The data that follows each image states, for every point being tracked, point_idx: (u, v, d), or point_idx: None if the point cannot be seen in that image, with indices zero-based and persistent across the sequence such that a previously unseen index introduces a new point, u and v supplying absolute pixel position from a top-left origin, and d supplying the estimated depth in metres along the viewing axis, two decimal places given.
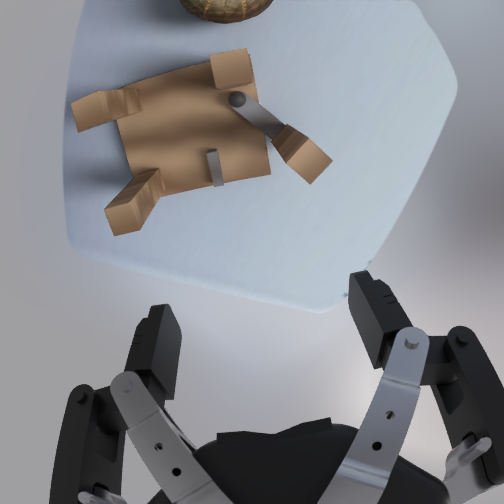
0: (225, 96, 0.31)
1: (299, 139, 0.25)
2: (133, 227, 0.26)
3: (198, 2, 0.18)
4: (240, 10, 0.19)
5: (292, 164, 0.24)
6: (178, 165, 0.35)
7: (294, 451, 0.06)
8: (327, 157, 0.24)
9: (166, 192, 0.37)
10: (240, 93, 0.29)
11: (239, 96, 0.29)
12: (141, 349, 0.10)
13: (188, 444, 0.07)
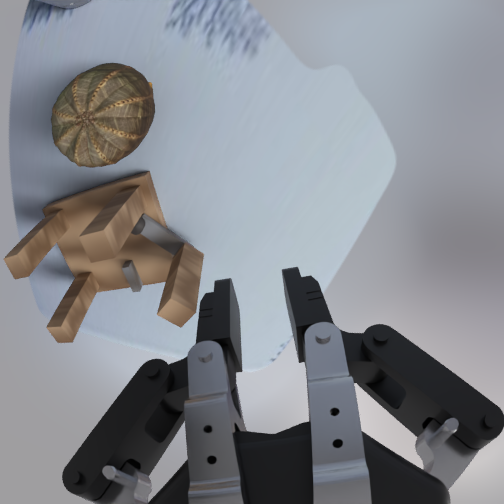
0: None
1: (170, 289, 0.29)
2: (68, 340, 0.31)
3: (71, 160, 0.23)
4: (107, 163, 0.24)
5: (162, 315, 0.29)
6: (105, 271, 0.40)
7: (294, 451, 0.06)
8: (190, 310, 0.28)
9: (101, 289, 0.41)
10: None
11: (136, 225, 0.33)
12: (215, 320, 0.10)
13: None
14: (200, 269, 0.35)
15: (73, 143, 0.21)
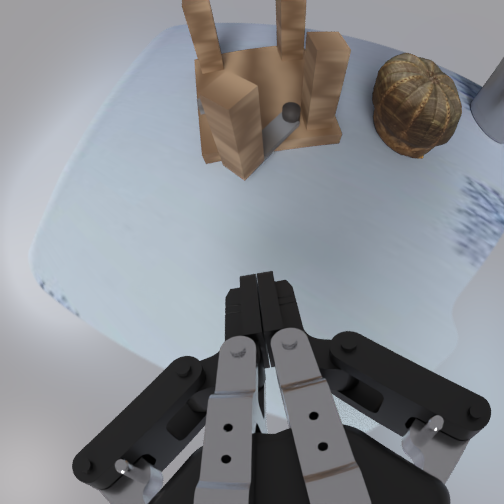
0: None
1: None
2: (185, 3, 0.22)
3: (389, 60, 0.22)
4: (389, 86, 0.22)
5: (224, 75, 0.18)
6: None
7: (294, 451, 0.06)
8: (233, 104, 0.17)
9: (198, 74, 0.33)
10: (298, 111, 0.28)
11: (294, 110, 0.28)
12: (244, 315, 0.10)
13: (260, 432, 0.07)
14: (242, 161, 0.25)
15: (412, 63, 0.21)
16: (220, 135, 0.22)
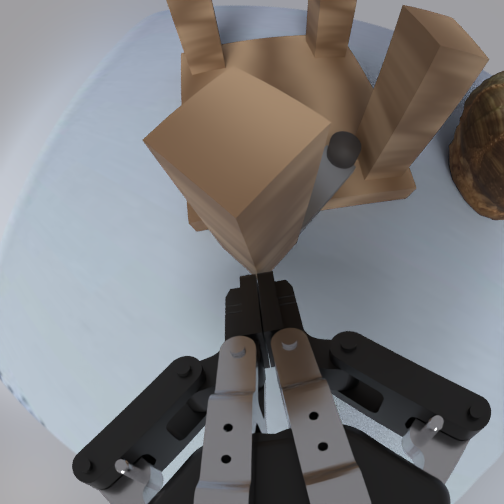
0: None
1: None
2: None
3: (496, 79, 0.10)
4: None
5: (226, 80, 0.06)
6: None
7: (294, 451, 0.06)
8: (253, 192, 0.05)
9: (185, 76, 0.21)
10: (357, 150, 0.16)
11: (351, 148, 0.16)
12: (244, 315, 0.10)
13: (260, 432, 0.07)
14: (261, 269, 0.13)
15: None
16: (216, 229, 0.10)
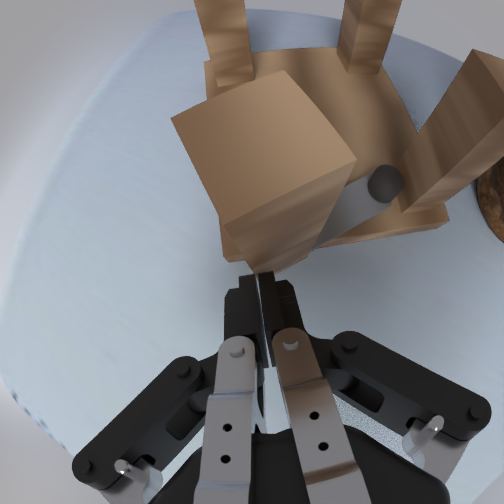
0: None
1: None
2: None
3: None
4: None
5: (270, 82, 0.06)
6: None
7: (294, 451, 0.06)
8: (250, 205, 0.05)
9: (211, 88, 0.21)
10: (398, 189, 0.15)
11: (393, 185, 0.15)
12: (243, 315, 0.10)
13: (259, 432, 0.07)
14: (258, 272, 0.13)
15: None
16: None
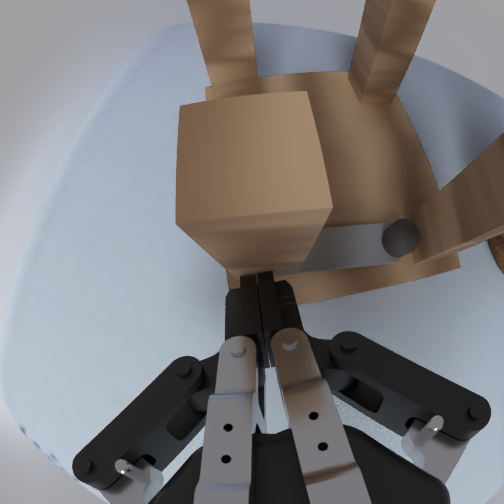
0: None
1: None
2: None
3: None
4: None
5: (286, 100, 0.06)
6: None
7: (294, 451, 0.06)
8: (205, 214, 0.05)
9: None
10: (410, 248, 0.14)
11: (407, 242, 0.14)
12: (244, 315, 0.10)
13: (260, 432, 0.07)
14: (236, 274, 0.13)
15: None
16: None
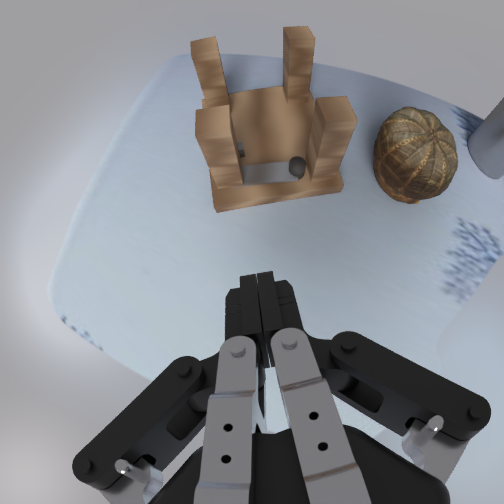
0: None
1: (233, 137, 0.24)
2: (194, 51, 0.25)
3: (392, 116, 0.26)
4: (391, 146, 0.26)
5: (223, 107, 0.23)
6: None
7: (294, 451, 0.06)
8: (202, 133, 0.23)
9: None
10: (300, 169, 0.32)
11: (298, 166, 0.32)
12: (244, 315, 0.10)
13: (260, 433, 0.07)
14: (213, 174, 0.30)
15: (414, 121, 0.25)
16: None
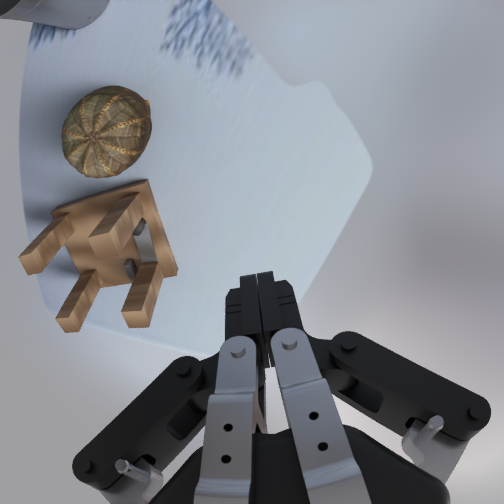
0: None
1: (140, 300, 0.35)
2: (74, 330, 0.35)
3: (80, 172, 0.27)
4: (111, 175, 0.29)
5: (124, 314, 0.34)
6: (108, 268, 0.44)
7: (294, 451, 0.06)
8: (146, 324, 0.35)
9: (104, 285, 0.46)
10: (140, 228, 0.38)
11: (138, 229, 0.38)
12: (244, 315, 0.10)
13: (260, 432, 0.07)
14: (158, 290, 0.41)
15: (82, 158, 0.25)
16: None
